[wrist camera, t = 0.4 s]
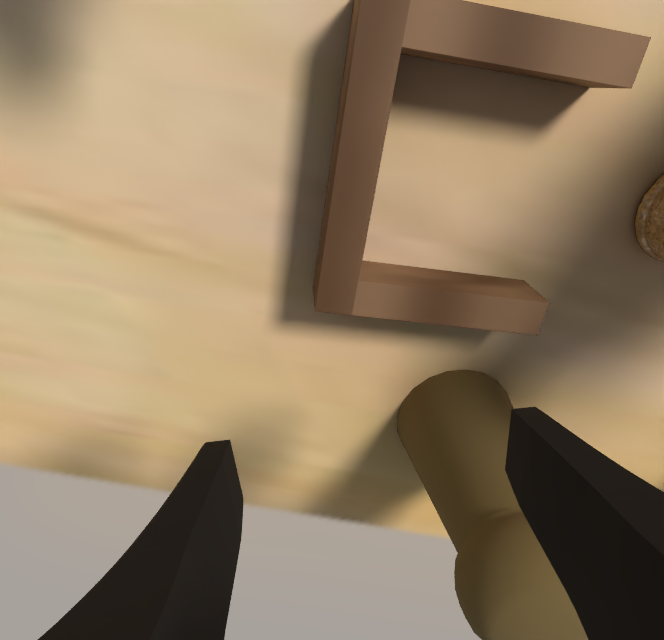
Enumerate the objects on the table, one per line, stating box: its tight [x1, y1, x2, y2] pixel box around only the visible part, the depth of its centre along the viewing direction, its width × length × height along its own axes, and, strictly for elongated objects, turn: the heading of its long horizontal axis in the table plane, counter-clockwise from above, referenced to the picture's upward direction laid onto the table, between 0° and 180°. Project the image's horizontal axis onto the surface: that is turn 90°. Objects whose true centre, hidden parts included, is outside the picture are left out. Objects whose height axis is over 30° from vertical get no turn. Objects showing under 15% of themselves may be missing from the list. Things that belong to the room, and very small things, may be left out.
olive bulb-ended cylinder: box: [397, 370, 588, 640], centre depth 20 cm, size 6×6×11 cm
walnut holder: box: [313, 0, 651, 335], centre depth 18 cm, size 10×11×2 cm
